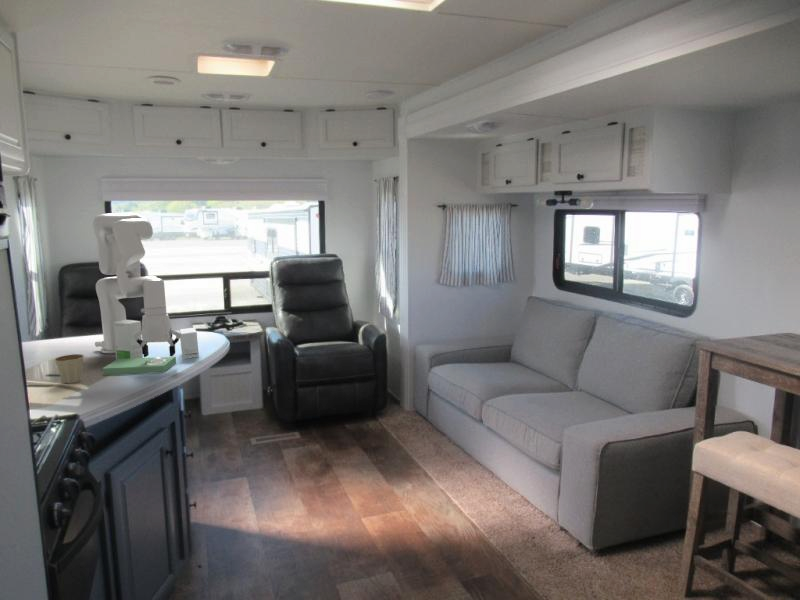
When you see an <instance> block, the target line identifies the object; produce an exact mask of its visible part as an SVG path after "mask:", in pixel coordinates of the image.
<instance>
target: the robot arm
mask: <svg viewBox="0 0 800 600" xmlns="http://www.w3.org/2000/svg"><path fill="white" fill-rule="evenodd" d="M92 228H93V232H94V235H95V236H96V240H97V246H98V247H97V249H98V251H97V253H98V266H99V267H98V269H99V271H100V272H101V273H102V275H103V274H104V275H106V276H107V277H104V278H102V277H101V278H100V279H98V280H97V282H96V283H95V291H96V296H97V298H98V301H99V308H100V317H101V327H102V335H103V336H102V337H103V340H102V341H95V342H94V346H95V347H97V348H98V347H101V349H100V352H101V353H103V354H116V350H115V334H114V322H117V321H122V320H127V313H126V308H125V306H124V305H123V304H122V303H121V301H119V300H121V299H132V298H141V297H143V306H144V307H142V308H141V309H140V312H141V313H143V315H142V319H141V332H139V333H137V334H135V335H134V338H135V339H136V341H137V343H139V344H140V346H141V347H142V354H143V358H148V356H149V354H150V353H149V345H148V344H149V343H166V342H167V343H168V344H169V347H168V349H169V357H174V356H175V354H176V344H177V343H178V342H179V341H180V337H181V333H180V331H179V332H178V331H176V330H175V329H172V322H171V319H170V316H169V314H168V313H167V304H166V303H167V302H166V290H165V281H164V279H163V278H159V277H158V276H155V275H148V276H147V275H146V276H145V275H144V276H141V275H142V274H141V261H140V260H141V259H143V258H144V256H145V254H146V249H145V248H144V245H143V243H142V241H143V240H146V241H147V240H149V239H151V238H152V236H153V234H154V233H153V232H154V231H153V226H152V224H151V222H150V220H148V219H147V218H146V217H144V216H143V215H140V214H138V213H134V212H126V213H123V212H122V213H121V212H119V213H115V212H114V213H102V214H98V215H96V216H94V217H93V220H92ZM141 240H142V241H141ZM108 275H110V276H108ZM111 275H116V276H111ZM140 335H141V337H142V340H141V339H140V337H139V336H140ZM173 335H174V336H175V339H173Z"/></svg>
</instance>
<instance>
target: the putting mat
mask: <svg viewBox="0 0 800 600" xmlns="http://www.w3.org/2000/svg"><path fill="white" fill-rule="evenodd" d="M155 358H157V357H143V358H129V359H117V360H116V359H115V360H114V361H112V362H111V363H109V364H107V365H105V366H104V367H103V368H102V375H103V376H105V375H130V373H136V374H148V373H147V372H161V373H165V372H167V371H168V370H169V369H171V368H172V367H173V366H172V365H173V364H174V365H175V364H176V363H177V360H176V356H163V357H161V356H160V358H162V359H163V361H164V362H161V363H156V364H152V362H153V360H154V359H155ZM168 368H169V369H168ZM167 369H168V370H167Z"/></svg>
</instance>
